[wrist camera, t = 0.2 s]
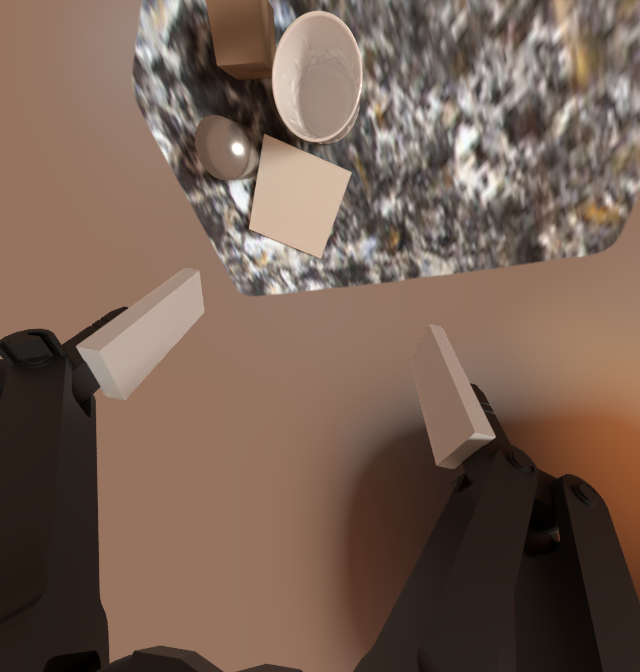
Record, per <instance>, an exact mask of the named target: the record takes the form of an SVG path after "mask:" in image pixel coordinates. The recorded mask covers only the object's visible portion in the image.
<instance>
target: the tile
mask: <svg viewBox="0 0 640 672" xmlns="http://www.w3.org/2000/svg"><path fill="white" fill-rule="evenodd" d="M351 174H352V172H350V171H348V170H346V169H343V168H341V167H339V166H337V165H334V164H332V163H330V162H327V161H325V160H323V159H321V158H318V157H316V156H314V155H312V154H309V153H307V152H305V151H303V150H300V149H298V148H296V147H293V146H291V145H289V144H287V143H284V142H282V141H280V140H278V139H275V138H273V137H271V136H269V135H266V134H264V138H263V144H262V150H261V157H260V163H259V169H258V175H257V182H256V188H255V194H254V200H253V207H252V213H251V219H250V225H249V229H250V230H253V231H255V232H258V233H260V234H262V235H265V236H267V237H270V238H272V239H275V240H277V241H279V242H282V243H284V244H287V245H289V246H292V247H294V248H296V249H299V250H301V251H304V252H306V253H308V254H311V255H313V256H316V257H318V258H321V257H322V255H323V252H324V249H325V246H326V243H327V241H328V238H329V235H330V232H331V229H332V227H333V224H334V221H335V218H336V216H337V213H338V210H339V207H340V204H341V202H342V199H343V196H344V193H345V190H346V188H347V185H348V182H349V179H350V176H351Z"/></svg>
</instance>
